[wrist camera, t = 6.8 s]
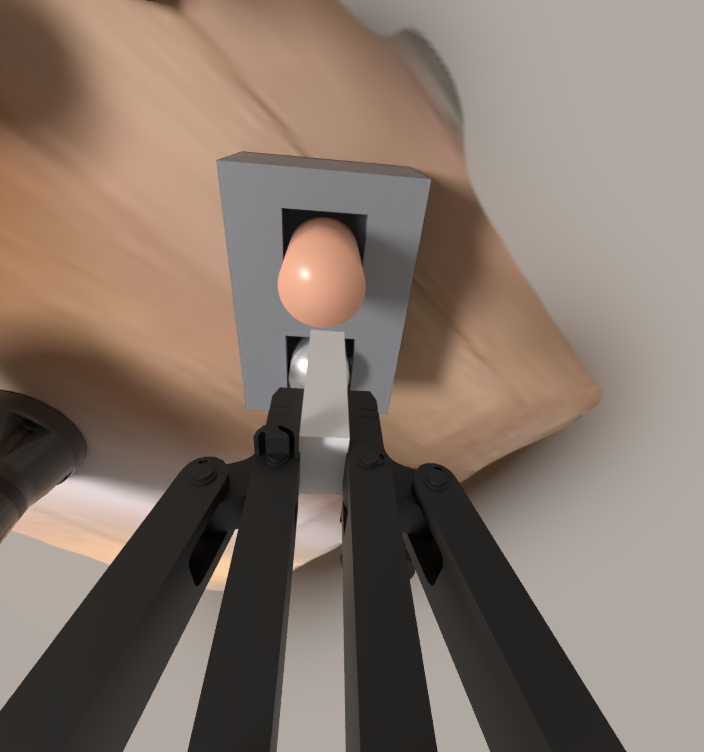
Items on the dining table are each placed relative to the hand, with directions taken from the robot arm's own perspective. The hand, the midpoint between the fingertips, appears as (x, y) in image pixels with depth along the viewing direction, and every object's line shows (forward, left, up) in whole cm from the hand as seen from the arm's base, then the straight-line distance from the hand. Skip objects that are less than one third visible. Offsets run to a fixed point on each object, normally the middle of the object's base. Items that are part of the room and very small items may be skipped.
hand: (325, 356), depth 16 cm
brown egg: (+1, 0, -13) cm, 13 cm away
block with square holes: (-4, 0, -21) cm, 21 cm away
